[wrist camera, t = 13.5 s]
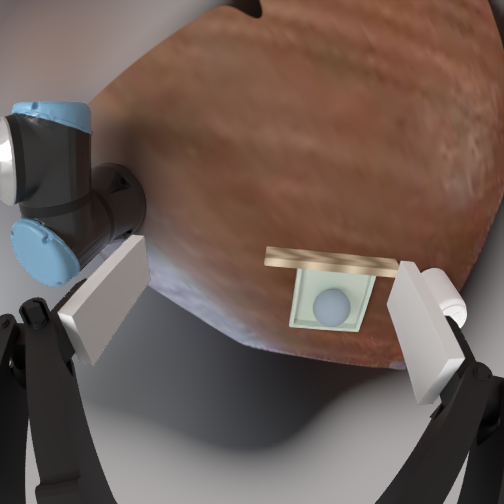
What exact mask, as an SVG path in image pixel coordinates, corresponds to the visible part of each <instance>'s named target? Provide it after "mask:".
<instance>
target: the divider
mask: <svg viewBox="0 0 504 504" xmlns="http://www.w3.org/2000/svg"><path fill="white" fill-rule="evenodd" d="M265 265H266V266H276V267H286V268H297V269H307V270H318V271H328V272H339V273H350V274H361V275H372V276H383V277H395V278H396V275H397V272H398V269H399V265H398V263H397V261H396V259H388V258H378V257H369V256H359V255H349V254H339V253H329V252H319V251H309V250H299V249H289V248H278V247H268V246H267V250H266V255H265Z"/></svg>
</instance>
